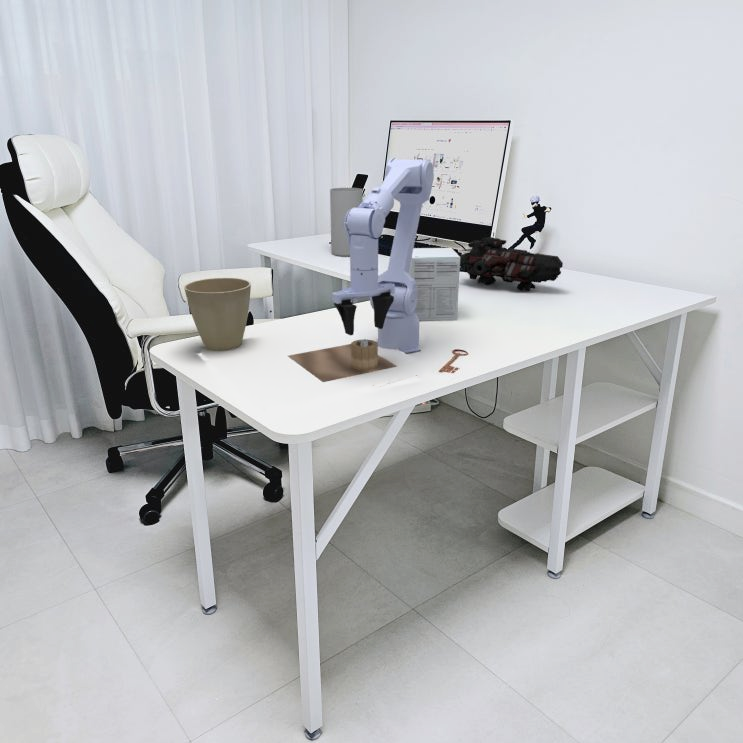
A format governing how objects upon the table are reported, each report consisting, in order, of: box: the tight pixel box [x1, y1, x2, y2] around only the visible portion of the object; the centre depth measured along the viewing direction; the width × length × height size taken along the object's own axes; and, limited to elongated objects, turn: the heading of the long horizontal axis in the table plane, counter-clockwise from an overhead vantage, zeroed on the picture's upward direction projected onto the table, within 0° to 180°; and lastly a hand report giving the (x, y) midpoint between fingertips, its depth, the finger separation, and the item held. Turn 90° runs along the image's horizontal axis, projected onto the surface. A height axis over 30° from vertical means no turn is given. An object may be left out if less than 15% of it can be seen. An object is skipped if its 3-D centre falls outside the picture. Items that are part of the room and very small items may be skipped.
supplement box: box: [408, 247, 461, 322], centre depth 181 cm, size 13×13×18 cm
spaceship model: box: [460, 236, 564, 292], centre depth 210 cm, size 19×32×15 cm, turn 53°
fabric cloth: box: [287, 343, 398, 383], centre depth 146 cm, size 18×18×2 cm
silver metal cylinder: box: [360, 338, 368, 346], centre depth 142 cm, size 2×2×6 cm
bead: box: [350, 339, 379, 370], centre depth 142 cm, size 6×6×5 cm
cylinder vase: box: [329, 187, 364, 258], centre depth 258 cm, size 12×12×25 cm
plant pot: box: [183, 277, 252, 352], centre depth 153 cm, size 15×15×16 cm
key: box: [438, 348, 469, 374], centre depth 149 cm, size 6×1×15 cm
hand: (364, 330), depth 140 cm, fingers open, 7 cm apart
